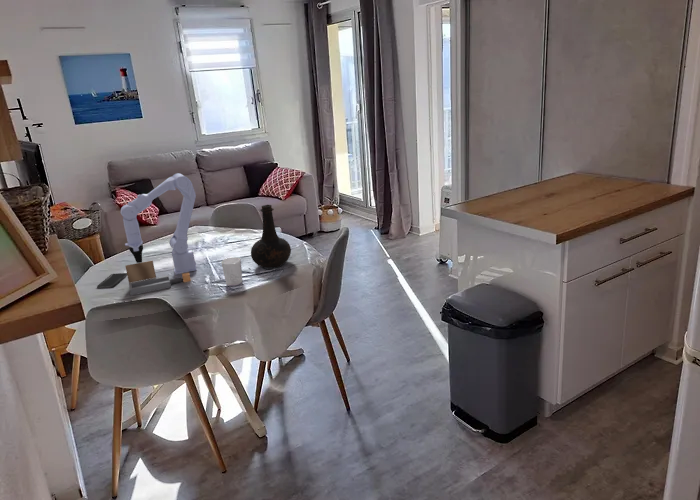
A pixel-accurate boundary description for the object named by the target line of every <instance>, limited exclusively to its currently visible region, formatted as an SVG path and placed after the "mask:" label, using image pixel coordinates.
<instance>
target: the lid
mask: <svg viewBox="0 0 700 500" xmlns="http://www.w3.org/2000/svg"><path fill="white" fill-rule="evenodd" d="M124 267H125V271H126V272H125V273H127V276H126V277H127V280H128V284H129V283H132V282H138V281H143V280H148V279H153V278H157V276H156V275H157V273H156V269H155V265H154V260H148V261H142V262H140V263H137V262H136V263H132V264H127V265H126V264H125V266H124Z"/></svg>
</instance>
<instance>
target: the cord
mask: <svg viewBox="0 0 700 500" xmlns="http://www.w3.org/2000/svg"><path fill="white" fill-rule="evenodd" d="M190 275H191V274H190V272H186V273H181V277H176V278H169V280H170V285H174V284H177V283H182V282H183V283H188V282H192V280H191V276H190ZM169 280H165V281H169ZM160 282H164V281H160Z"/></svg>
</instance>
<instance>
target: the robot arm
mask: <svg viewBox="0 0 700 500" xmlns="http://www.w3.org/2000/svg"><path fill="white" fill-rule="evenodd" d="M176 190H178V191H179V192H180V193H181V195H182V202H181V205H180V210H179V215H178V218H177V223H176V227H175V230H174V232H173V234H172V236H171V238H170V239H169V243H168V244H169V246H170V248H172V251H171V256H172V261H173V262H172V263H173V267H174V268H173V271H174V272H173V273H174V275H182V274H184V273H190V272H195V271H197V263H196V259H195V253H194V251H193V250H192V249H191V250H190V249H189V245H188V240H189V238H188V232H189V231H188V230H189V227H190V222H191V219H192V215H193V209H194V205H195V201H196V197H197V193H196V190H195V188H194V185H193V182H192V181H191V180H190V178H189V177H187V176H186V175H183V174H182V173H180V172H179V173H178V172H176V173H174V174H173V175H172V176H169V177H168V178H166V179H165V180H164V181H163V182H161V183H160V184H158V186H156V187H155V188H153V189H152V190H151V191H149V192H148V193H141V194H138V195H136V198H134V199H133V200H132V201H128V202H127V204H124V205H122V207H121V208H120V215H121V217H122V222H123V227H124V232H125V235H126V241H127V242H126V243H124V245H125V247H129V248H128V250H129V252H130V253H131V254H132V256H133V257H134V259H135V262H136V263H142V262H143V250H144V245H143V243H144V241H143V240H142V235H141V231H140V223H139V221H138V219H137V216H138V214H140V213H142V212H143V211H144V210H146V209H147V208H149V207H150V206H151V205H152V204H153V203H152V202H153V200H154V199H157V198H158V197H160V196H161V195H163V194H165V193H166V192H167V191H176Z"/></svg>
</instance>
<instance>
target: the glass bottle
mask: <svg viewBox="0 0 700 500" xmlns="http://www.w3.org/2000/svg"><path fill="white" fill-rule="evenodd" d="M260 208H261V209H260V212H261V213H262V234H261V238H260V239H259V240H257V241H256V242H254V244H252V247H251V249H250V257H251V258H252V261H253V262H254V263H255V264H256V265H257V266H259V267H261V268H266V269H273V268H274V267H275V268H279V267H281V266H283V265H284V264H286V263H287V262H288V260H289V258H290V257H291V253H292V247H291V245H290V243H289V242H288V241H287V240H286V239H284V238H282V237H279V235H278V233H277V230H276V225H275V223H274V222H275V220H274V216H273V211H274V208H273V207H272V205H271V204H264V205H261V206H260Z"/></svg>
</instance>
